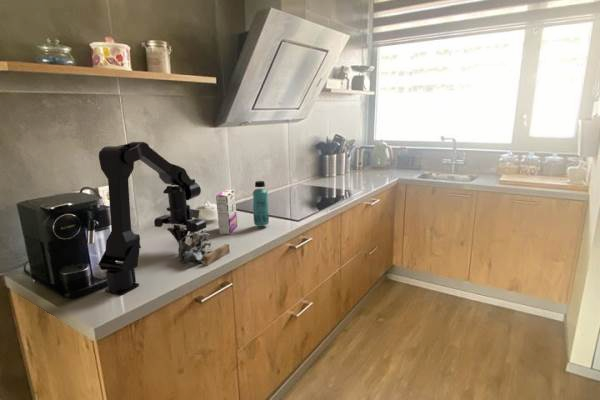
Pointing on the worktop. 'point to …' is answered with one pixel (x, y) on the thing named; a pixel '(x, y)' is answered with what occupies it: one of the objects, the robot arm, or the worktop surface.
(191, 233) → the foil
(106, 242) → the robot arm
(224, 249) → the bar
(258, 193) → the beverage bottle
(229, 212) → the candy bar box
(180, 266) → the worktop surface
